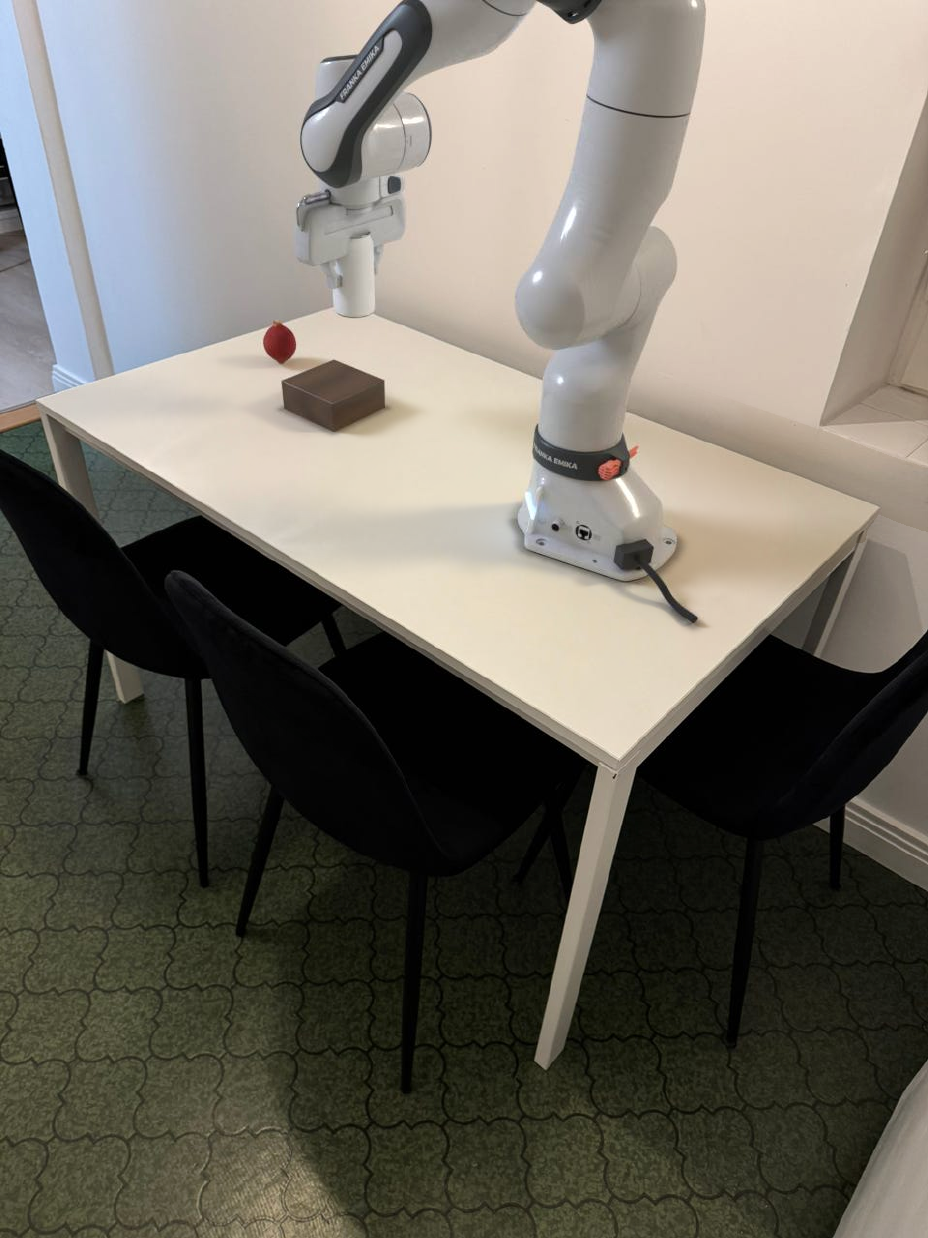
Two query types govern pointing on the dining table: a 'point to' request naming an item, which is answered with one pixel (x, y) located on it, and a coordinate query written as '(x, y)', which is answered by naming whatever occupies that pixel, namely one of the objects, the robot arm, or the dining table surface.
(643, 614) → the dining table surface
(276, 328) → the onion
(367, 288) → the can
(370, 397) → the brown square block
